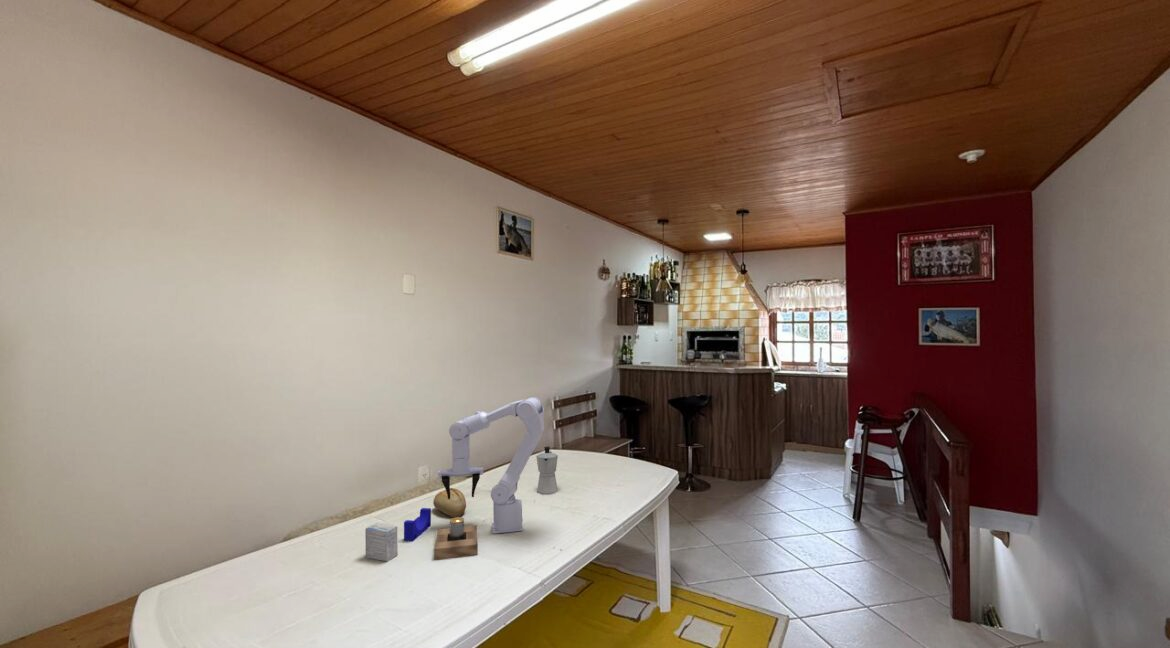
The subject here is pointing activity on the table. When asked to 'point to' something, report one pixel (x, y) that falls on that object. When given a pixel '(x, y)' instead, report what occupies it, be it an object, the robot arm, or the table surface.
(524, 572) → the table surface
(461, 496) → the bread roll
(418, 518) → the blue cradle block
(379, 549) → the medicine box
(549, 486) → the coffee maker
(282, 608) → the table surface
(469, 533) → the dock plate
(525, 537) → the table surface
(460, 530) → the peg
